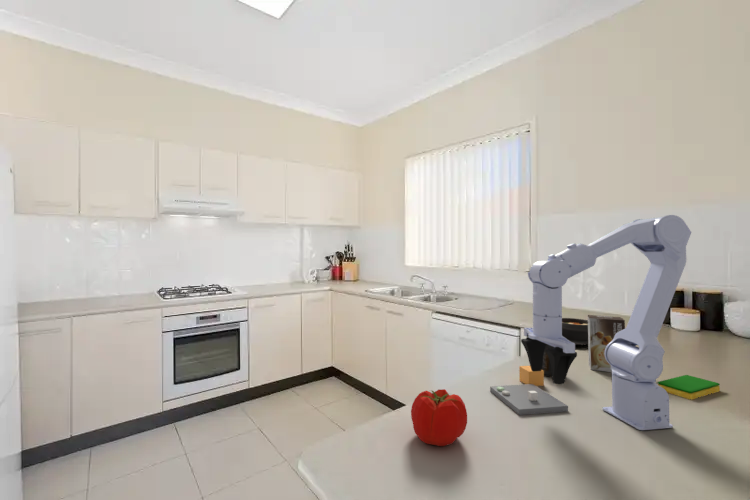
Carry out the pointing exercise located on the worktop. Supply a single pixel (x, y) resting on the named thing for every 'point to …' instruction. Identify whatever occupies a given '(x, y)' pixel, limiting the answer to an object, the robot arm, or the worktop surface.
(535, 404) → the panel
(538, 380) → the orange wooden cube
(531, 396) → the small white block
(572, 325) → the casserole
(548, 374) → the supplement bottle
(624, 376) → the robot arm
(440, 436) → the tomato
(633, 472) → the worktop surface
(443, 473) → the worktop surface
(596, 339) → the coffee box
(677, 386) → the dish sponge
